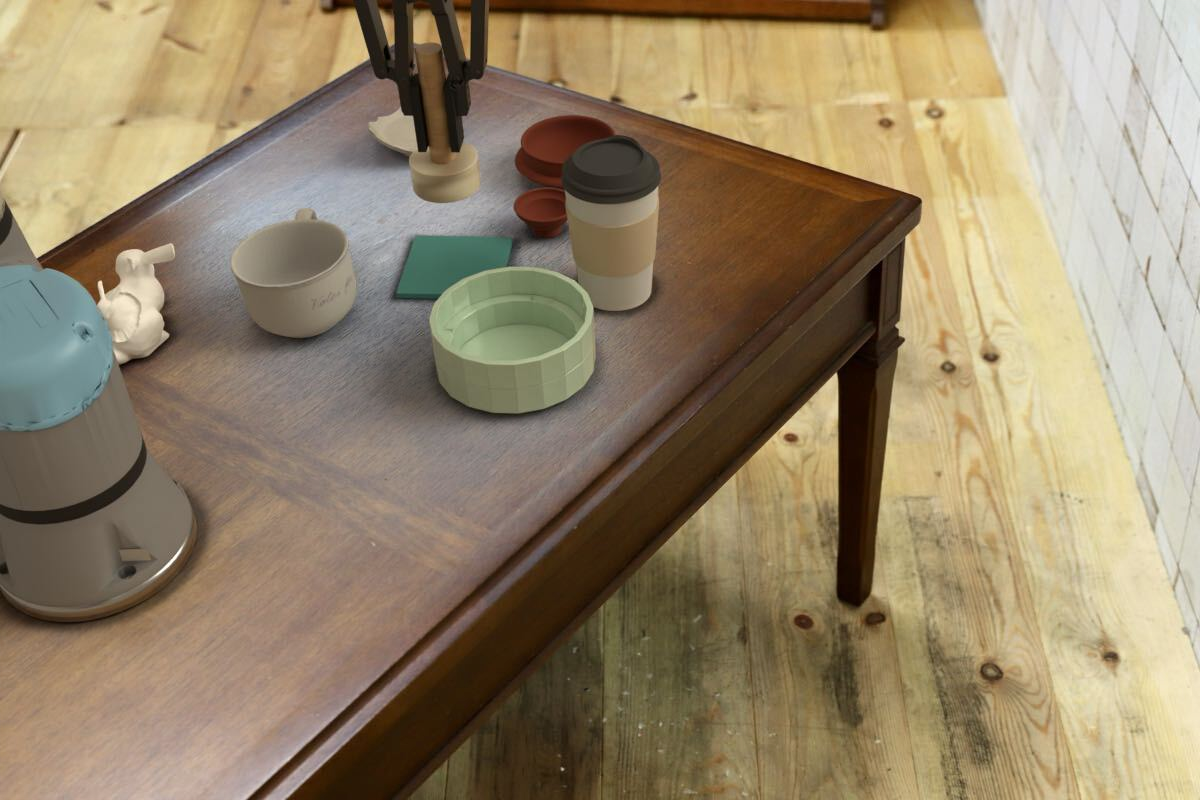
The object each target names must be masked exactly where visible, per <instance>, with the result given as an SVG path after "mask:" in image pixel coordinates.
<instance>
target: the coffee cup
mask: <svg viewBox="0 0 1200 800" xmlns="http://www.w3.org/2000/svg"><path fill="white" fill-rule="evenodd" d="M661 181H662V173H661V165H660V162H659V160H658V159H657V158H656V157H655V155H653V154H651V153H650V152H649V151H647V150H646V149H645V148H644V147H643V146H641V144H640V143H639V142H638V141H637V140H636V139H635V138H633V137H631V136H627V135H623V134H622V135H621V134H616V135H613V136H610V137H608V138H606V139H601V140H595V141H591V142H588V143H586V144H584V145H582V146H580V147H579V148H578V149H577V150H576V151H575V152H574V153H573V154H572V155H570V156H569V157H568V158H567V159H566V161H565V162H564V164H563V167H562V176H561V183H562V186H563V188H562V189H563V190H565V194H566V201H565V206H566V213H567V219H568V220H567V225H568V231H569V238H570V239H569V240H570V245H571V252H572V258H573V261H574V263H575V267H576V274H577V283H578V284H579V285H580V286H581V287H582V288H583V289H584V290H585V291H586V292H587V293H588V295H589V297H590V300H591V303H592V305H593V308H595V309H597V310H602V311H607V312H622V311H627V310H632V309H635V308H637V307H639V306H641V305H643V304H644V303H645V302H646V301H647V300H648V299H649V298H650V296H651V294H652V287H653V272H654V261H655V258H656V253H657V238H658V223H659V209H660V197H659V185H660V183H661Z"/></svg>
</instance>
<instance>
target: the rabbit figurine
mask: <svg viewBox="0 0 1200 800" xmlns="http://www.w3.org/2000/svg"><path fill="white" fill-rule="evenodd" d="M174 259H176V251H175V245H174V244H173V243H171V242H170V243H167V244H164V245H161V246H158V247H155V248H152V249H150V250H147V251H146V252H145V251H143V250H142V249H139V248H138V249H137V248H133V249H126V250H123V251H121V252H120V253H119V254H118V255H117V256H116V259H115V273H116V274H117V275H118V277H119V279H120V280H119V283H118V284H117V286H115V287H114V288H112V289H111V290H109V291H108V292H106V293H105V289H104V286H103V281H102V280H98V281H97V290H98V293H99V301H98V303H96V305H97V307H98V309H99V310H100V312H101V313H102V315H103V316H104V318H105V321H106V323H107V325H108V328H109V331H110V333H111V337H112V341H113V345H112V347H113V350H114V353H115V356H116V359H117V362H118V365H119V366H120V365H122V364H125V363H128V362H129V361H131V360H133V359H134V360H135V359H142V358H146V357H148V356H150V355H151V354H152V353H153V352H154V351H155V350H157V348H159V346H161V345H162V344H163V343H164V342H165V341H167V340H168V339H169V337H170V333H169V332H167V331H166V330H164V327H165V321H164V318H163V315H162V314H161V313H160V311H161V310H162V309H163V307H164V304H165V292H164V289H163V287H162V285H161V282H160V281H159V280H158V279H157V278H156V276H155V265H154V264H159V263H166V262H172V261H173V260H174Z"/></svg>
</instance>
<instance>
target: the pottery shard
mask: <svg viewBox="0 0 1200 800" xmlns="http://www.w3.org/2000/svg"><path fill="white" fill-rule="evenodd" d="M367 126H368V129H367V131H368V132H369V133H370V135H371V136H372V137H373V138H374V139H375V140H376V141H377V142H378V143H379V144H381V145H382V146H384V147H386V148H388V149H389V150H392V151H396V152H399V153H400V154H402V155H404V156H405V157H407V158H408V157H409V158H410V155H411V154H412V153H413V152H414V151H415V150H416V149H417V148H418V147H417V140H416V134H415V127H414V120H413V116H404V114H403V113H402V111H401V106H400V107H399V108H398V109H397V110H396V111H395V112H393V113H391V114H389V115H386V116H385V115H384V116H378V117H377V118H376V121H368V122H367Z"/></svg>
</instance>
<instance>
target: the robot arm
mask: <svg viewBox="0 0 1200 800" xmlns="http://www.w3.org/2000/svg"><path fill="white" fill-rule="evenodd" d="M352 1H353V6H354V8H355V12H356V15H357V19H358V22H359V25H360V29H361V32H362V36H363V39H364V44H365V46H366V50H367V53H368V56H369V60H370V63H371V67H372V70H373V74H374V76H375V77H376V78H377V79H378V80H386V79H387V80H391V81H392V82H394V83H395V84H396V86H397V91H398V98H399V104H400V107H401V111H402V113H403V114H404V116H413V120H414V127H415V134H416V140H417V147H418V152H427V149H428V139H427V132H426V125H425V118H424V111H423V104H422V97H421V90H420V83H419V76H418V72H417V73H414V70H415V68H416V64H415V48H414V46H415V45H414V41H415V40H414V3H417V2H422V3H427V4H428V5H429V8H430V12H431V15H432V16H433V18H434V21H435V25H436V29H437V33H438V36H439V37H438V38H439V42H440V45H441V46H442V50H443V58H444V62H445V64H446V69H447V72H448V74H447V75H446V82H445V84H444V87H443V90H444V98H445V106H446V114H447V122H448V130H449V137H450V145H451V152H459V153H460V149H461V146H462V143H463V142H464V140H465V131H464V125H463V124H464V123H463V117H467V116H468V115H469V112H470V110H471V109H470V108H471V105H472V100H471V99H472V97H471V91H470V90H471V88H470V81H471V80H481V79H482V78H483V77H484V74H485V71H486V68H487V64H488V59H489V57H488V54H489V52H488V51H489V20H490V19H489V17H490V15H489V13H490V11H489V10H490V0H470V33H469V34H470V40H469V42H470V43H469V59H468V60H467V57H466V52H465V48H464V44H463V40H462V36H461V31H460V28H459V24H458V19H457V16H456V10H455V7H454V4H453V3H454V2H453V0H392V3H391V4H392V14H393V33H394V34H393V36H394V37H393V38H394V41H393V42H394V59H393V55H392V52H391V48H390V44H389V40H388V37H387V34H386V33H387V32H386V30H385V27H384V22H383V20H382V15H381V11H380V8H379V5H378V2H377V0H352ZM112 345H113V341H112V337H111V333H110V331H109V328H108V325H107V323H106V321H105V318H104V316H103V315H102V313H101V312H100V310H99V309H98V307H97V303H96V301H95V300H94V298H93V296H92V295H91V293H90V292H89V291H88V289H86V287H84V286H83V285H82V284H81V283H80V281H77V280H76V279H75V278H74V277H71V276H69V275H67V274H65V273H63V272H61V271H59V270H57V269H54V268H49V267H46V268H44V267H43V266H42V265H41V263H40V262H39V260H38V258H37V257H36V255H35V253H34V252H33V250H32V248H31V246H30V244H29V242H28V240H27V239H26V236H25V235H24V233H23V231H22V229H21V227H20V225H19V224H18V221H17V220H16V217H15V216H14V214H13V212H12V210H11V208H10V206H9V205H8V203H7V201H6V198H5V197H4V195H3V193H2V192H1V191H0V592H1V593H2V595H3V597H4V598H5V599H6V600H7V602H8V603H9V604H10V605H12V607H14V608H15V609H17V610H18V611H20V612H22V613H24V614H26V615H27V616H30V617H32V618H35V619H39V620H43V621H49V622H58V623H75V622H87V621H92V620H97V619H101V618H105V617H108V616H112V615H115V614H118V613H122V612H123V611H126V610H128V609H131V608H132V607H134V606H137V605H138V604H141V603H142V602H144V601H146V600H148V599H149V598H151V597H152V596H153V595H155V594H156V593H158V592H159V591H161V590H162V589H163V588H165V586H168V584H169V583H170V582H171V581H172V580H174V578H175V577H176V576H177V575H178V574H179V573H180V572H181V570H182V569H183V568H184V567H185V565H186V563H187V562H188V560H189V558H190V557H191V555H192V552H193V550H194V547H195V545H196V540H197V535H198V534H197V533H198V524H197V523H198V522H197V520H196V514H195V512H194V509H193V506H192V502H191V500H190V498H189V496H188V494H187V492H186V491H185V489H184V488H183V487H182V486H181V484H180V483H179V482H178V481H177V480H176V479H175V478H174V477H173V476H172V475H171V474H169V473H168V472H167V470H166V469H165V468H164V467H163V465H162V464H161V463H160V462H159V461H158V460H157V459H156V457H155V456H154V455H153V454H152V453H151V452H150V450H149V449H148V448H147V446H146V442H145V439H144V437H143V433H142V431H141V428H140V427H141V426H140V424H139V422H138V418H137V416H136V412H135V409H134V406H133V404H132V401H131V398H130V394H129V392H128V388H127V385H126V382H125V380H124V377H123V374H122V373H123V372H122V371H121V367H120V364H119V365H118V362H117V359H116V356H115V353H114V350H113V347H112Z"/></svg>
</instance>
